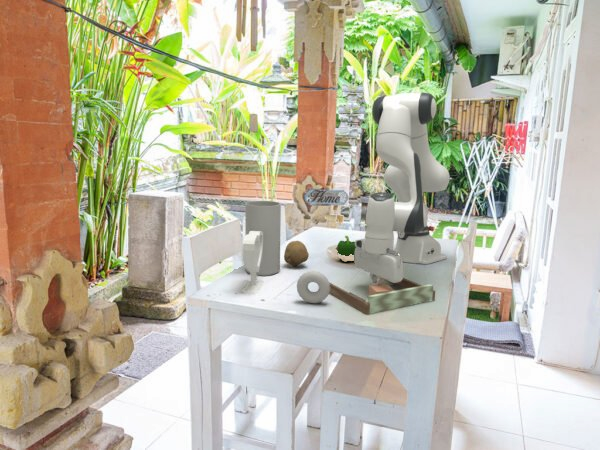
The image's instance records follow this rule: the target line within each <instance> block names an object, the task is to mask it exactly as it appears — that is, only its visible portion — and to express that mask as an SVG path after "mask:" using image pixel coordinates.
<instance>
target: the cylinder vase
mask: <svg viewBox="0 0 600 450" xmlns="http://www.w3.org/2000/svg"><path fill="white" fill-rule="evenodd" d="M244 204H245V206H244V207H245V209H244V210H245V211H244V212H245V214H244V215H245V236H246V235H247V234H249V232H250V231H262V232H263V252H262V259H261V264H260V269H259V272H257V276H263V277H264V276H273V275H276V274H277V273H279V272H280V270H281V224H282V223H281V221H282V219H281V216H282V215H281V214H282V213H281V212H282V211H281V210H282V204H281V202H278V201H272V200H253V201H248V202H247V201H246V202H245V203H244ZM245 271H246V272H247V273H248V274H250V272H248V270H247V269H246V268H245Z"/></svg>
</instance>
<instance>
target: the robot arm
mask: <svg viewBox="0 0 600 450" xmlns="http://www.w3.org/2000/svg"><path fill="white" fill-rule="evenodd" d="M371 114H372V118H373V122H375V124H376V125H378V127H377V133H376V141H375V146H376V148H375V149H376V150H375V151H376V153H377V156H378V157H379V159H380V160H382V161H383V162H384V163H385V164H387V165H388V166H387V168H386V169H385V171H384V176H383V178H384V182H385V185H387V187H388V188H390V190H392V192H393V193H394V194H395V196H394V195H393V194H391V193H389V192H379V191H378V192H375V193H371V194H370V195H369V196H368V197H369V198H368V202H367V207H366V209H365V216H364V217H365V219H364V221H365V224H366V231H365V235H364V238H360V239H355V241H354V242H355V246H356V248H355V254H354V262H353V263H354V266H355V267H356V268H358V269H360V270H363V271H365V272H367V273H369V279H370V281H371V285H383V284H384V281H386V280H388V281H390V282H392V283H391V284H393V283H396V282H401V281H402V279H403V278H404V266H403V264H404V263H410V264H422V265H429V264H433V263H436V262H440V261H444V260H447V255H445V254H443V253H442V247H441V243H440V242H438V240H437V239H435V238H434V237H433V236H432V235H431V233H430V232H434V231H435V226H432V225H428V214H429V208H428V206H427V204H426V203H425V202H424V193H438V192H443V191H444V190H446V188H447V187H448V186H449V184H450V178H451V177H450V172H449V170H448V169H447V167H445V166H444V165H442V164H441V163H440V162H439V161H438V160H437V159H436V158H435V156H434V155H433V154H432V151H431V148H430V143H429V137H428V125H427V124H430V123H431V122H432V121H433V120H434V119H435V116H436V114H437V102H436V99H435V96H433V94H432V93H428V92H421V93H418V92H403V93H398V94H396V93H395V94H390V95H387V94H385V95H382V96H381V95H380V96H378V97H376V98H375V99H374V101H373V104H372V108H371ZM395 197H396V199H397V201H395ZM394 232H396V233H397V239H396V243H395V249H394V241H395V235H394ZM403 262H404V263H403ZM388 281H387V282H388ZM390 282H389V283H390Z"/></svg>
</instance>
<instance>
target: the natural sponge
mask: <svg viewBox="0 0 600 450" xmlns="http://www.w3.org/2000/svg"><path fill="white" fill-rule="evenodd" d="M309 257H310V256H309V252H308V249H307V247H306V245H305V244H304V243H303V242H302V241H300V240H291V241H290V242H289V243H288V244H287V245H286V247H285V249H284V255H283V258H284V262H285V263H287V264H289V265H290V266H292V267H298V266H300V265H301V264H303V263H305V262H306V261H307V260H309Z"/></svg>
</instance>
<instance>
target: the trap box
mask: <svg viewBox="0 0 600 450" xmlns="http://www.w3.org/2000/svg"><path fill="white" fill-rule="evenodd" d="M385 281H386V282H388V283H391V284H390V285H389V284H388V285H389V286H390V287H391V288H392V289H394V290H395V291H391V292H386V293H380V294H375V295H370V296H369V295H367V300H366V299H365V298H364V299H363V298H362V297H360V296H358V295H357V294H355V293H353V292H348V291H347V290H345V289H342V288H341V287H339V286H338V285H335V284H334V283H331V282H330V281H329V284H330V291H329V294H330V295H332V296H333V297H335V298H336V299H338V300H339V301H341V302H344V303H345V304H347V305H349V306H351V307H353V308H354V309H356V310H358V311H360V312H362V313H363V314H364V315H371V314H372V315H373V314H376V313H380V312H381V313H382V312H385V311H390V310H395V309H400V308H403V307H409V305H410V306H414V305H413V304H415V305H418V304H417V303H419V304H423V303H422V302H424V303H427V302H426V301H429V302H431V301H430V300H434V301H436V300H435V299H436V290H434V284H431V283H430V284H429V283H428V284H424V285H421V284H419V283H416V282H415V281H412V280H410V279H406V278H405V277H403V279H402V281H401V282H396V283H392V282H390V281H388V280H385ZM329 294H328V295H329Z"/></svg>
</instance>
